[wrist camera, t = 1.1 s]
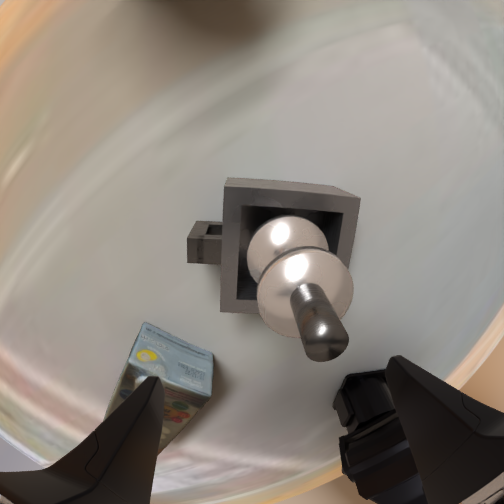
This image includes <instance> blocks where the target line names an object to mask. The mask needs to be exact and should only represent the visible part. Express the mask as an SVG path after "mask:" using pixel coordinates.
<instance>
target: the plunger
mask: <svg viewBox="0 0 504 504" xmlns="http://www.w3.org/2000/svg"><path fill="white" fill-rule="evenodd" d="M247 264H248V268H249V271H250V274H251V276H252V277H253V279H254V280H255V281H256V282H257V283H258V285H257V301H258V308H259V312H260V315H261V317H262V319H263V321H264V322H265V323H266V324H267V326H268V327H269V328H271V329H272V330H273V331H275V332H277V333H279V334H281V335H284V336H287V337H293V338H301V340H302V343H303V346H304V349H305V352H306V355H307V356H308V357H309V358H310V359H311V360H313V361H317V362H325V361H329V360H332V359H334V358H336V357H338V356H339V355H341V354H342V353H343V352H344V350H345V349H346V348H347V346H348V343H349V337H348V334H347V332H346V330H345V328H344V327H343V325H342V323H341V321H340V320H341V318H342V317H343V316H344V315H345V313H346V312H347V310H348V308H349V306H350V304H351V301H352V297H353V281H352V277H351V275H350V272H349V271H348V269H347V268H346V267H345V265H344V264H343V263H342V262H341V261H340V260H339V258H338V257H337V256H335V255H334V254H333V253H331V252H330V251H329V249H328V243H327V240H326V238H325V236H324V234H323V233H322V231H321V230H320V229H319V228H318V227H317V226H316V225H315V224H314V223H313V222H311V221H310V220H308V219H306V218H304V217H301V216H298V215H280V216H276V217H273V218H271V219H269V220H267V221H265V222H264V223H263V224H261V225H260V226H259V227H258V228H257V229H256V231H255V232H254V233H253V235H252V236H251V238H250V241H249V243H248V247H247Z"/></svg>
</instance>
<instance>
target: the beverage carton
mask: <svg viewBox="0 0 504 504" xmlns="http://www.w3.org/2000/svg"><path fill="white" fill-rule="evenodd" d="M213 368H214V364H213V354H212V353H211V352H210V351H207V350H204V349H202V348H199V347H197V346H195V345H192V344H190V343H188V342H186V341H184V340H181V339H179V338H177V337H175V336H173V335H171V334H169V333H166V332H164V331H162V330H160V329H158V328H157V327H155V326H152V325H150V324H148V323H146V322H144V323H143V324H142V327H141V330H140V332H139V334H138V336H137V338H136V340H135V342H134V344H133V347H132V349H131V352H130V355H129V358H128V360H127V362H126V364H125V366H124V369H123V371H122V373H121V375H120V378H119V380H118V382H117V385H116V387H115V390H114V392H113V395H112V398H111V400H110V403H109V405H108V408H107V411H106V414H105V417H104V420H105V419H106V418H107V417H108V416H109V415H110V414H111V413H112V412H113V411H114V410H115V409H116V408H117V407H118V406H119V405H120V404H121V403H122V402H123V401H124V400H125V399H126V398H127V397H128V396H129V395H130V394H131V393H132V392H133V391H134V390H135V389H136V388H137V387H138V386H139V385H140V384H141V383H142V382H143V381H144V380H145V379H146V378H147V377H148V376H158V377H160V379H161V382H162V385H163V387H164V390H165V400H164V413H163V427H162V433H161V439H160V444H159V449H158V455H159V454H160V453H161V452H162V451H163V449H164V448H165V447H166V446H167V445H168V444H169V443H170V442H171V441H172V440H173V439H174V438H175V437H176V436H177V435H178V434H179V433H180V431H181V430H182V429H183V428H184V427H185V426H186V425H187V424H188V422H189V421H190V420H191V419H192V418H193V417H194V416H195V414H196V413H197V412H198V410H199V409H201V408H202V407H203V406H204V404H205V403H206V402H207V401H209V399H210V398H211V396H212V381H213ZM104 420H103V421H104ZM158 455H157V456H158Z"/></svg>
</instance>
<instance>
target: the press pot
mask: <svg viewBox="0 0 504 504" xmlns="http://www.w3.org/2000/svg"><path fill="white" fill-rule="evenodd" d="M360 200H361V198H359V197H357V196H355V195H353V194H350V193H348V192H346V191H343V190H341V189H339V188H336V187H334V186H327V185H318V184H309V183H299V182H288V181H276V180H263V179H247V178H227V180H226V183H225V186H224V202H223V222H212V221H196V223H195V225H194V226H193V228H192V230H191V232H190V234H189V235H188V237H187V263H200V264H220V265H221V296H220V312H230V313H260V312H259V308H258V301H257V285H258V283H257V282H256V281H255V280H254V279H253V277H252V276H251V274H250V271H249V268H248V264H247V247H248V243H249V241H250V238H251V236H252V235H253V233H254V232H255V231H256V229H257V228H258V227H259V226H260V225H261V224H263V223H264V222H265V221H267V220H269V219H271V218H273V217H276V216H280V215H298V216H301V217H304V218H306V219H308V220H310V221H311V222H313V223H314V224H315V225H316V226H317V227H318V228H319V229H320V230H321V231H322V233H323V234H324V236H325V238H326V240H327V243H328V249H329V251H330V252H331V253H333V254H334V255H335V256H337V257H338V258H339V260H340V261H341V262H342V263H343V264H344V265H345V267H346V268H347V269H348V267H349V262H350V257H351V252H352V247H353V242H354V237H355V231H356V225H357V219H358V213H359V207H360Z"/></svg>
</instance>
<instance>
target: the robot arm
mask: <svg viewBox="0 0 504 504" xmlns="http://www.w3.org/2000/svg"><path fill="white" fill-rule="evenodd" d="M164 400H165V390H164V387H163V385H162V382H161V379H160V377H158V376H148V377H147V378H146V379H145V380H144V381H143V382H142V383H141V384H140V385H139V386H138V387H137V388H136V389H135V390H134V391H133V392H132V393H131V394H130V395H129V396H128V397H127V398H126V399H125V400H124V401H123V402H122V403H121V404H120V405H119V406H118V407H117V408H116V409H115V410H114V411H113V412H112V413H111V414H110V415H109V416H108V417H107V418H106V419H105V420H104V421H103V422H102V423H101V424H100V425H99V426H98V427H97V428H96V429H95V431H93V432H92V433H91V434H90V435H89V436H88V437H87V438H86V439H85V440H83V441H82V442H81V443H80V444H79V445H78V446H77V447H75V448H74V449H73V450H72V451H70V452H69V453H68V454H66V455H65V456H64V457H62V458H61V459H60V460H58V461H57V462H56V463H54V464H53V465H51V466H50V467H48V468H45V469H42V470H36V471H22V472H0V494H1V498H0V504H150V497H151V491H152V484H153V478H154V472H155V466H156V460H157V455H158V449H159V444H160V439H161V433H162V427H163V413H164ZM333 408H334V410H337V413H338V416H339V419H340V422H341V425H342V426H343V427H346V428H347V431H348V434H347V435H345V436H341V437H339V442H340V443H339V447H340V454H341V461H342V473H343V474H345V475H347V476H348V478H349V479H350V480H351V481H352V482H355V483H356V486H357V489H358V492H359V495H360V496H362V497H363V498H365V499H366V500H368V499H370V500H372V501H374V502H375V503H377V504H459V503H460V502H462V503H463V504H504V413H503V412H500V411H498V410H496V409H494V408H491V407H489V406H487V405H485V404H483V403H481V402H479V401H477V400H475V399H473V398H471V397H469V396H467V395H466V394H464V393H461V392H460V391H459V390H457V389H456V388H454V387H452V386H451V385H449V384H447V383H446V382H444V381H442V380H441V379H439V378H437V377H436V376H434V375H432V374H431V373H429V372H427V371H426V370H424V369H422V368H421V367H419V366H417V365H416V364H414V363H412V362H411V361H409V360H407V359H406V358H404V357H402V356H401V355H397V356H393V357H391V358H390V360H389V362H388V365H387V368H386V369H384V370H377V371H370V372H363V373H355V374H349V375H347V376H346V377H345V379H344V382H343V384H342V386H341V389H340V390H339V392H338V394H337V397H336V399H335V401H334V405H333Z"/></svg>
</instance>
